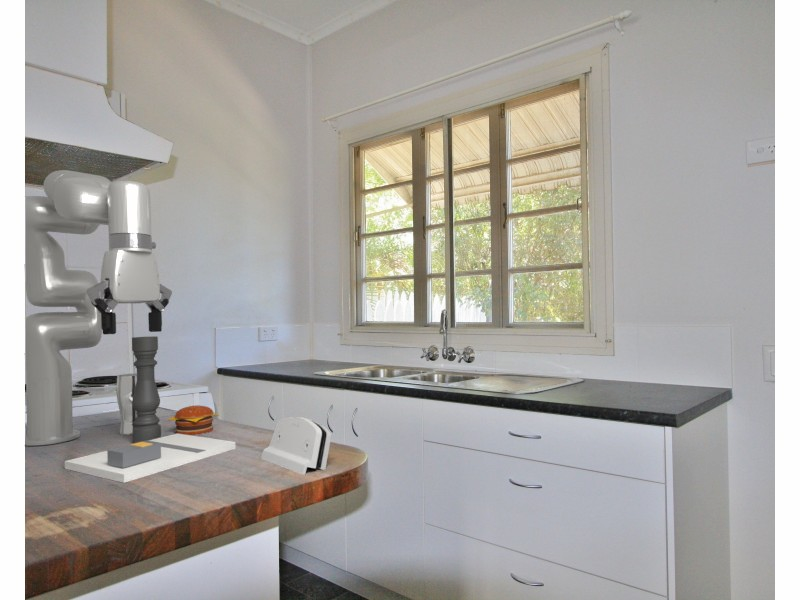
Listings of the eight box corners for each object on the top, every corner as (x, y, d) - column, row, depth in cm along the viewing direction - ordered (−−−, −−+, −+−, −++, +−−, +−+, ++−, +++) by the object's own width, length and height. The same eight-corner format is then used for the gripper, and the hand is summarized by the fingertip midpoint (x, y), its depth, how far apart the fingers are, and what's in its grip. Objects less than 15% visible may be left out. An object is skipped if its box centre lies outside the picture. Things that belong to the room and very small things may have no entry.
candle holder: (155, 436, 134) (153, 336, 135) (165, 440, 130) (162, 336, 130) (128, 441, 130) (126, 337, 130) (138, 445, 125) (135, 338, 126)
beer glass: (135, 436, 135) (134, 376, 135) (111, 435, 137) (110, 376, 137) (153, 429, 142) (152, 372, 142) (130, 429, 143) (128, 373, 144)
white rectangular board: (64, 468, 108) (64, 460, 108) (177, 439, 130) (177, 433, 130) (124, 482, 98) (123, 473, 98) (235, 448, 120) (235, 441, 120)
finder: (107, 464, 104) (107, 449, 104) (145, 454, 110) (145, 439, 111) (123, 467, 101) (122, 452, 101) (161, 457, 108) (160, 442, 108)
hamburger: (166, 435, 136) (166, 408, 136) (192, 427, 145) (191, 402, 145) (197, 436, 133) (197, 409, 133) (221, 428, 142) (221, 403, 142)
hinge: (259, 458, 111) (273, 410, 114) (279, 461, 114) (292, 414, 117) (303, 475, 99) (317, 421, 101) (324, 478, 102) (337, 425, 104)
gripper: (157, 251, 115) (159, 331, 115) (74, 243, 100) (77, 335, 99) (180, 247, 111) (183, 330, 111) (98, 239, 96) (101, 334, 96)
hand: (133, 332), depth 105 cm, fingers open, 9 cm apart
